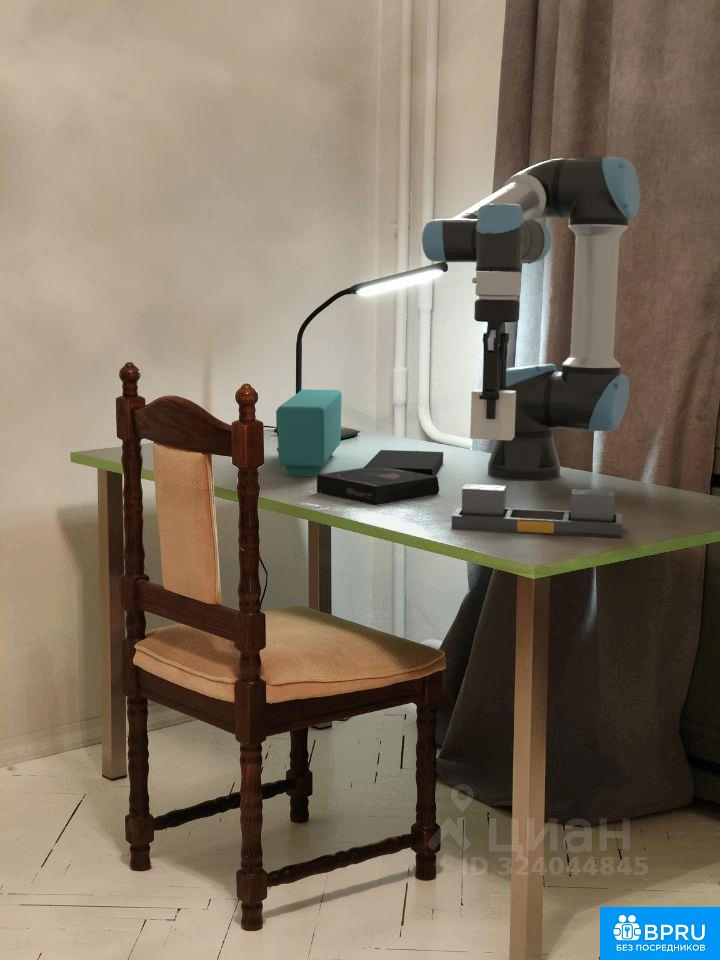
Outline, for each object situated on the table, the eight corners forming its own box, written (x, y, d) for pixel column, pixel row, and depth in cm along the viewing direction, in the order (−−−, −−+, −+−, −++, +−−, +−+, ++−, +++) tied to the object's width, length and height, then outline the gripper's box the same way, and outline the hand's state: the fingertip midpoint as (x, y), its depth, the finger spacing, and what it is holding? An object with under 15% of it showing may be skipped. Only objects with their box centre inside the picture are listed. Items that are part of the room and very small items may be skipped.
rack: (458, 518, 215) (458, 481, 214) (621, 526, 209) (623, 488, 208) (451, 529, 206) (452, 490, 205) (621, 538, 200) (623, 499, 199)
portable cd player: (439, 496, 237) (439, 476, 236) (375, 508, 226) (375, 486, 225) (380, 484, 249) (380, 465, 248) (316, 495, 237) (316, 474, 237)
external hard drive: (443, 465, 272) (443, 451, 272) (432, 483, 250) (432, 469, 249) (379, 463, 275) (379, 449, 274) (363, 481, 252) (363, 466, 252)
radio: (297, 453, 286) (297, 388, 283) (341, 454, 285) (341, 389, 282) (273, 478, 252) (272, 406, 250) (323, 480, 251) (323, 407, 249)
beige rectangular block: (474, 435, 213) (475, 389, 211) (514, 437, 211) (516, 390, 210) (470, 438, 208) (471, 391, 207) (511, 440, 207) (512, 393, 205)
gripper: (482, 296, 215) (478, 428, 219) (466, 298, 198) (462, 441, 202) (525, 297, 213) (520, 430, 217) (513, 299, 196) (508, 443, 200)
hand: (492, 435), depth 210 cm, fingers closed on beige rectangular block, 4 cm apart
